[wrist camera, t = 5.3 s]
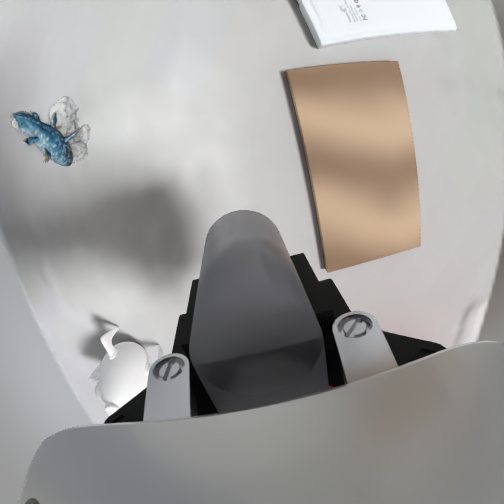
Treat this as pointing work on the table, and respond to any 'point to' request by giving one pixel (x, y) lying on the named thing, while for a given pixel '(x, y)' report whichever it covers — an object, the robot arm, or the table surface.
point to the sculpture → (55, 132)
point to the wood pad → (358, 159)
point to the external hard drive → (373, 19)
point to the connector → (253, 319)
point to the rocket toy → (121, 372)
